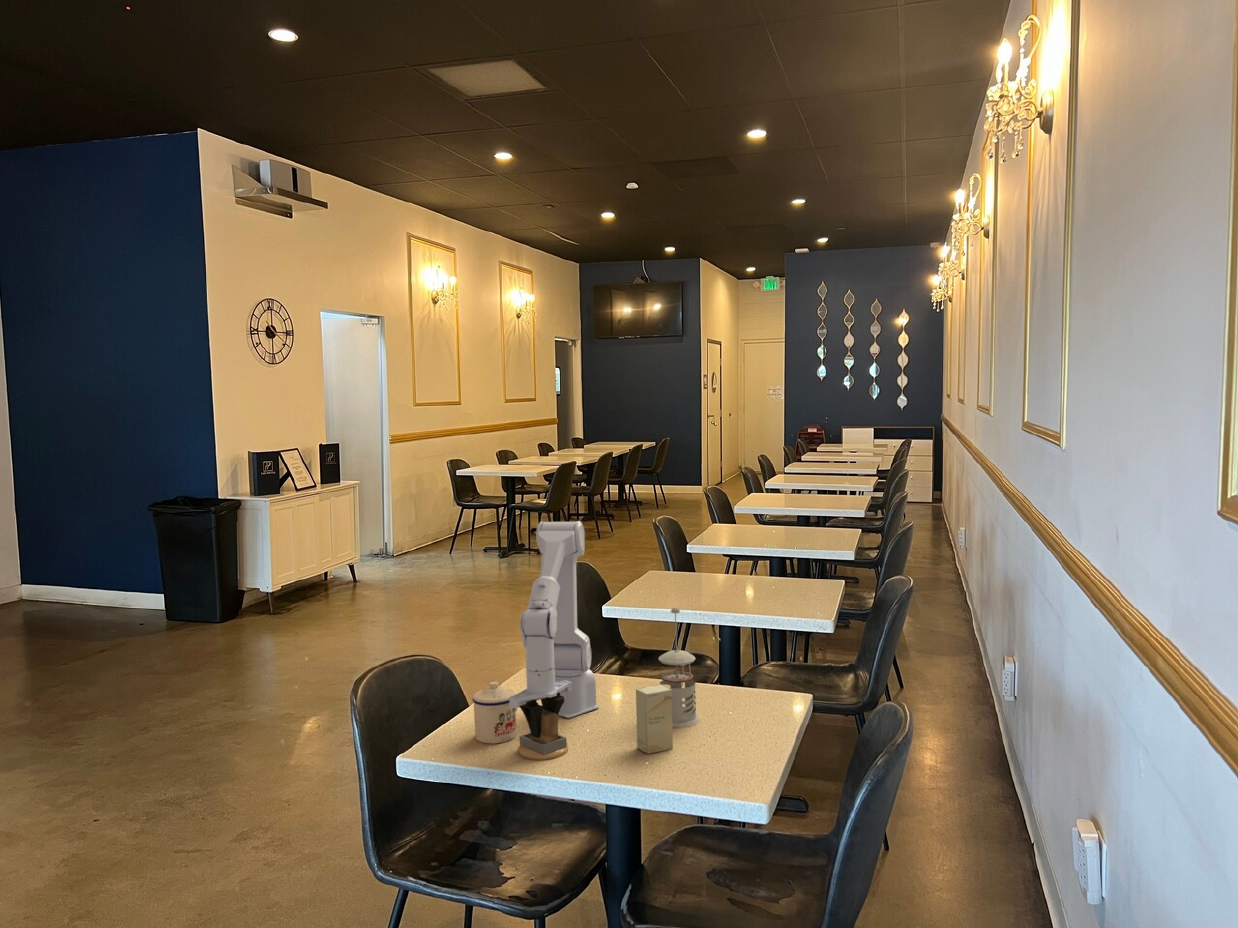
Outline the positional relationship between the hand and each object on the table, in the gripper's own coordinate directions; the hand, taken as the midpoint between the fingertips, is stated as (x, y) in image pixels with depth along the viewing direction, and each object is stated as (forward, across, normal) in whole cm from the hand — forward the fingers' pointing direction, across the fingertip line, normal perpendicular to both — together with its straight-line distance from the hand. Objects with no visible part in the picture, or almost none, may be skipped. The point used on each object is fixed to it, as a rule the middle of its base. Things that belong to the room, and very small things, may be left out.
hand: (542, 733), depth 181 cm
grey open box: (+3, 0, 0) cm, 3 cm away
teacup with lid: (+4, -1, +14) cm, 14 cm away
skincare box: (+4, +16, -16) cm, 23 cm away
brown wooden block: (+3, 0, -1) cm, 3 cm away
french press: (+4, +32, -8) cm, 33 cm away
